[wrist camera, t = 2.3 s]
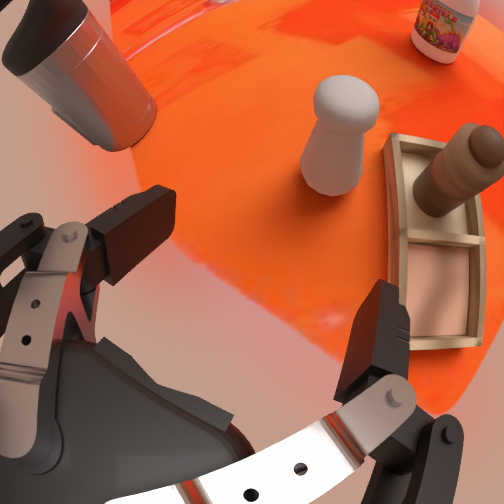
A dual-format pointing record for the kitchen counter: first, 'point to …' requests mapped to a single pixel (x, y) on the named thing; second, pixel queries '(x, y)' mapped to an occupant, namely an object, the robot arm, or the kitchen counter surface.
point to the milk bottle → (443, 27)
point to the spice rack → (433, 253)
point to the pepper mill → (460, 170)
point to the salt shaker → (339, 134)
